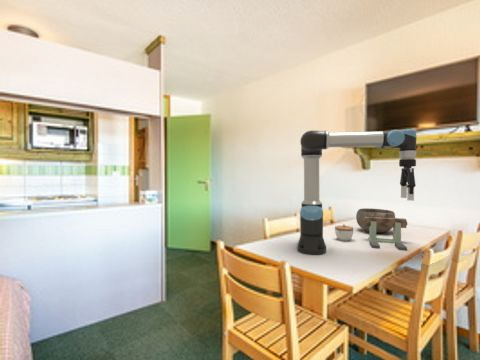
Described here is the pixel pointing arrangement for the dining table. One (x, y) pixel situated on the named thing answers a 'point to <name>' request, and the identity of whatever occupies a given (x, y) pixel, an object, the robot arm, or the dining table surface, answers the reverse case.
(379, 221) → the rail
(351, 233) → the lidded jar
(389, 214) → the bowl
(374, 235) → the rack
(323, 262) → the dining table surface
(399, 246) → the rests
